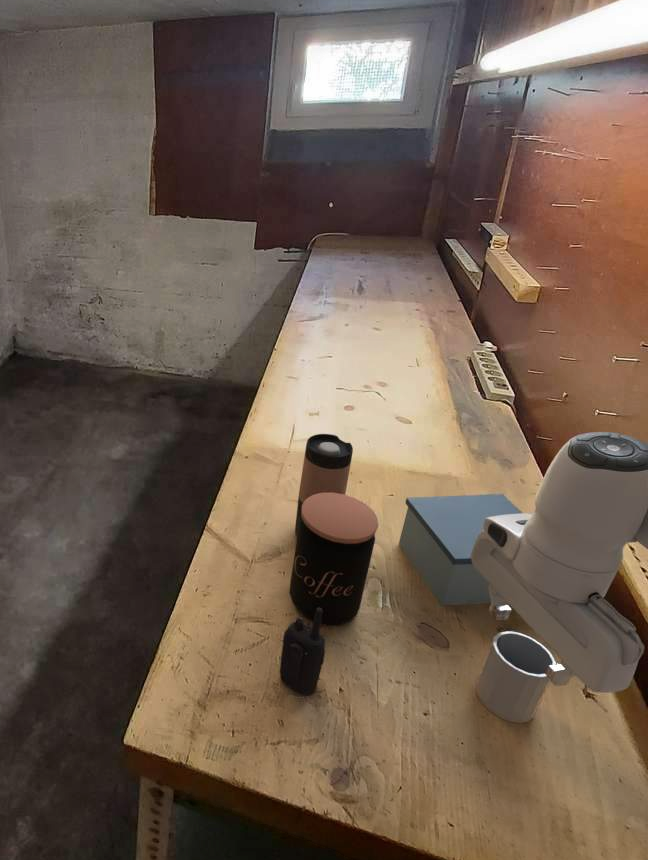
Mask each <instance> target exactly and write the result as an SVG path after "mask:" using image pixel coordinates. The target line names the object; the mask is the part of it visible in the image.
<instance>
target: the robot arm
mask: <svg viewBox="0 0 648 860" xmlns="http://www.w3.org/2000/svg"><path fill="white" fill-rule="evenodd" d="M483 529H484V530H482V531H481V532H480V533H479V534H478V536H477V538H476V541H475V543H474V546H473V548H472V552H471V560H472V564H473V566H474V567H475V568H476V569H477V570H478V572H479V573H480V574H481V575H482V576H483V577H484V578H485V579H486V580H487V581H488V582H489V586H488V589H489V594H490V599H491V602H492V603H490V605H489V608H488V613H490V614H491V615H492V616H493V618H495V619H496V620H497V621H501V620H508V619H509V617H510V614H511V613H512V609H513V610H514V611H515V612H516V613H517V614H518V615H519V616H520V618H521V619H522V620H524V622H525V623H526V624H527V625H528V626H529V627H530V628H531V629H532V630H533V631H534V632H535V634H537V636H538V637H539V638H540V639H541V640H542V641H543V642H544V643H545V644H546V645H547V646H548V647H549V648H550V649H551V651H552V652H553V653H554V654H555V655H556V656H557V657H558V658H559V659H560V660H561V662H560V663H556V665H549V666H548V668H547V671H546V672H545V674H546V676H547V677H548V678H549V679H550V680H551V683H552V684H553V685H554V686H555V687H559V686H565V685H567V684H569V682H570V680H571V678H572V677H573V676H576V677H577V679H579V681H581V683H582V684H583V685H584V686H586V688H587V689H588V690H590V691H591V692H594V693H602V694H606V693H610V694H611V693H616V692H622V691H624V690H626V689H628V688H629V687H630V685H631V682H632V680H633V678H634V676H635V674H636V670H637V667H638V664H639V660H640V659H641V657H642V656H643V654H644V651H645V644H644V643H643V642H642V640H641V638H640V636H639V634H638V633H637V627H636V626H635V625H634V624H633V622H631V621H630V620H629V619H628V618H627V617H624V616H623V615H622V614H621V613H619V612H618V610H616V608H615V607H614V606H613V605H612V604H610V602H609V601H608V600H606V599H605V598H604V597H606V594H607V592H608V590H609V588H610V587H611V585H612V583H613V580H614V579H615V577H616V575H617V573H618V571H619V569H620V567H621V565H622V562H623V558H624V548H625V546H626V544H628V543H639V544H640V545H641V546H643V548H645V549H647V550H648V443H646V442H644V441H642V440H641V439H638V438H636V437H633V436H631V435H626V434H622V433H617V432H609V431H591V432H584V433H579V434H577V435H575V436H573V437H571V438H570V439H569V440H568V441H567V442H566V443H565V444H564V445H562V447H561V448H560V450H559V451H558V452H557V454H556V455H555V456H554V458H553V460H551V462H550V465H549V466H548V468H547V470H546V472H545V473H544V476H543V478H542V481H541V482H540V485H539V487H538V490H537V492H536V495H535V497H534V512H533V513H523V514H506V515H498V516H492V517H487V518H486V519H485V520H484V523H483Z"/></svg>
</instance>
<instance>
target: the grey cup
mask: <svg viewBox="0 0 648 860" xmlns="http://www.w3.org/2000/svg"><path fill="white" fill-rule="evenodd" d="M549 665H556V666H557V661H556V659H555V658H554V655H553V654H552V652H551V651H549V649H548V648H546V646H545V645H543V643H541V642H539V640H536V639H534V638H533V637H531V636H529V635H526V634H525V633H521V632H518V631H517V632H516V631H511V630H506V631H501V632H498V633H497V634H495V635H494V636H493V638H492V641H491V644H490V646H489V649H488V652H487V654H486V657H485V659H484V661H483V664H482V667H481V669H480V672H479V675H478V677H477V680H476V684H475V691H476V695H477V697H478V699H479V700H480V702H481V703H482V705H484V707H485V708H486V709H487V710H489V711H490V712H492V713H493V715H495V716H497V717H499V718H500V719H503V720H505V721H508V722H510V723H511V722H512V723H518V724H519V723H520V724H522V723H527V722H529V721H531V720H532V719H533V718H534V716H535V714H536V713H537V711H538V709H539V708H540V705H541V703H542V701H543V699H544V696H545V695H546V693H547V690H548V688H549V686H550V685H551V683H552V681H551V680H550V679H549V678H548V677H547V676H546V674H545V672H546V671H547V668H548V666H549Z"/></svg>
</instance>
